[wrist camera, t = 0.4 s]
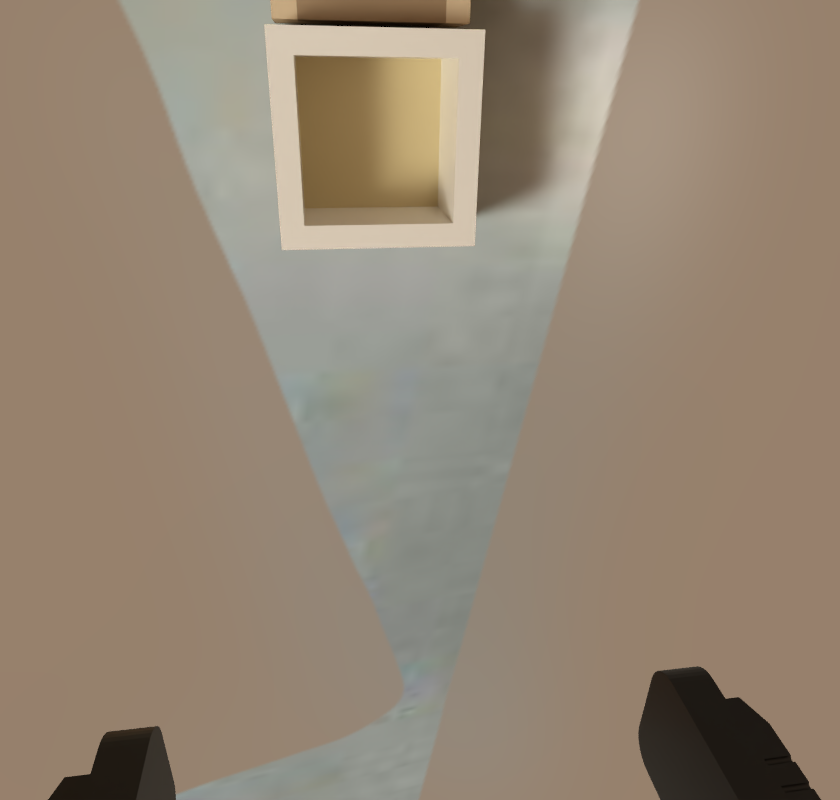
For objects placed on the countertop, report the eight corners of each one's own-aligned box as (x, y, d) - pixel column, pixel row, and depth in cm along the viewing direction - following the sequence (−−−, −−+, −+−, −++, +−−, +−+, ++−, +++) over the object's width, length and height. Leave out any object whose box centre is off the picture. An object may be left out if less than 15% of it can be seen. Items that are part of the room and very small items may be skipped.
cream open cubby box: (271, 31, 29) (264, 24, 25) (459, 35, 30) (485, 29, 26) (285, 225, 33) (281, 250, 28) (453, 222, 34) (474, 245, 30)
